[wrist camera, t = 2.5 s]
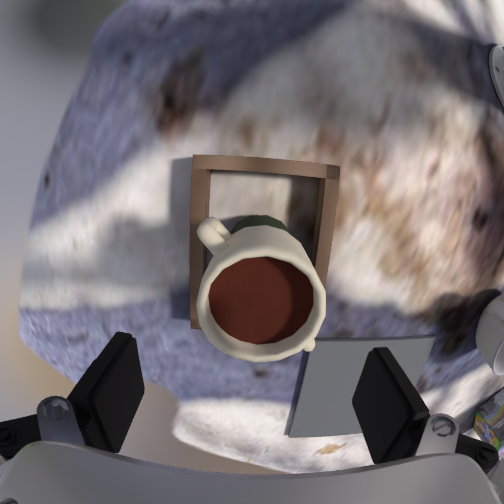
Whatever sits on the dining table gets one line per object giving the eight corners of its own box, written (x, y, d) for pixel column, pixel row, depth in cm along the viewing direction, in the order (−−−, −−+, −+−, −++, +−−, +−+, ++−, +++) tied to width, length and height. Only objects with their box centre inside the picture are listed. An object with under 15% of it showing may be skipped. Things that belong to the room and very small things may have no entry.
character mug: (194, 227, 27) (143, 277, 14) (251, 177, 26) (245, 186, 13) (267, 307, 29) (272, 397, 17) (323, 264, 28) (366, 337, 15)
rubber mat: (434, 334, 30) (436, 337, 30) (390, 425, 35) (391, 428, 35) (311, 338, 30) (312, 341, 30) (288, 434, 35) (288, 437, 35)
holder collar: (333, 166, 25) (340, 166, 23) (311, 324, 30) (315, 336, 27) (199, 155, 25) (193, 154, 23) (195, 316, 30) (190, 328, 27)
